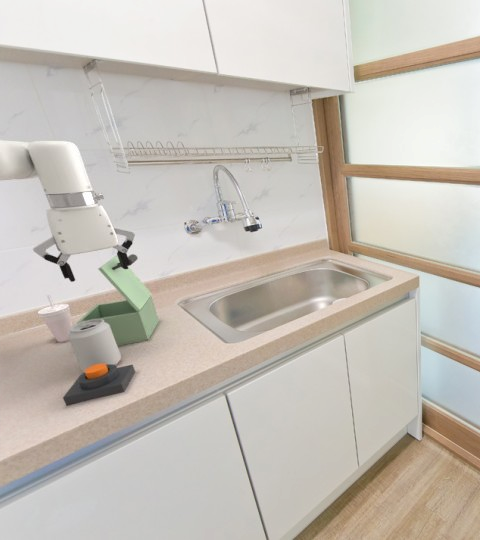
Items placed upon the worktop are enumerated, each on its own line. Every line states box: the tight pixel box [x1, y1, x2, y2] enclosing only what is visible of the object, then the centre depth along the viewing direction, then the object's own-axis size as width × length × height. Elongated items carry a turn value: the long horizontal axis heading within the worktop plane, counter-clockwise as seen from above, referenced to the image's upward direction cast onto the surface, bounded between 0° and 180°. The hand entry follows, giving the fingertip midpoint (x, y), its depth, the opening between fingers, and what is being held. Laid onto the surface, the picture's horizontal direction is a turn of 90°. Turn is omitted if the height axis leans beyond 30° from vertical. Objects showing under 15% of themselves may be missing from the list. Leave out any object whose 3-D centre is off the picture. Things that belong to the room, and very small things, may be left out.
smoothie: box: [37, 294, 73, 343], centre depth 94 cm, size 6×6×14 cm
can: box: [68, 319, 122, 373], centre depth 81 cm, size 8×8×12 cm
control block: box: [62, 364, 136, 407], centre depth 74 cm, size 10×8×4 cm
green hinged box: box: [75, 295, 160, 347], centre depth 96 cm, size 14×13×9 cm
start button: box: [84, 363, 108, 379], centre depth 73 cm, size 4×4×2 cm
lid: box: [97, 253, 153, 312], centre depth 94 cm, size 14×13×6 cm
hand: (99, 274), depth 78 cm, fingers open, 9 cm apart
